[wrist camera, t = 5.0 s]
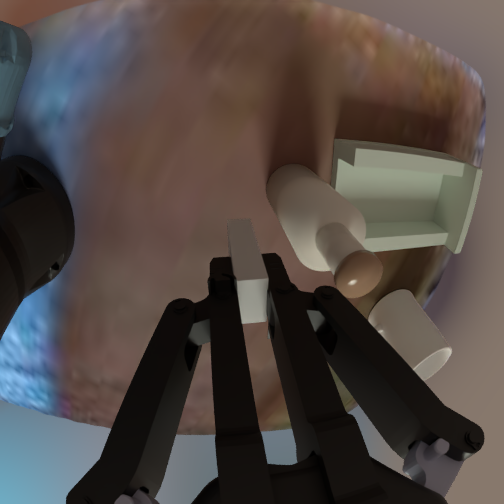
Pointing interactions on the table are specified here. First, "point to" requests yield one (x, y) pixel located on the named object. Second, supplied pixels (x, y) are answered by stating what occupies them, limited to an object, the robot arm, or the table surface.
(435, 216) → the cradle
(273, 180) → the bottle
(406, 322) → the mug
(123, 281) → the table surface
